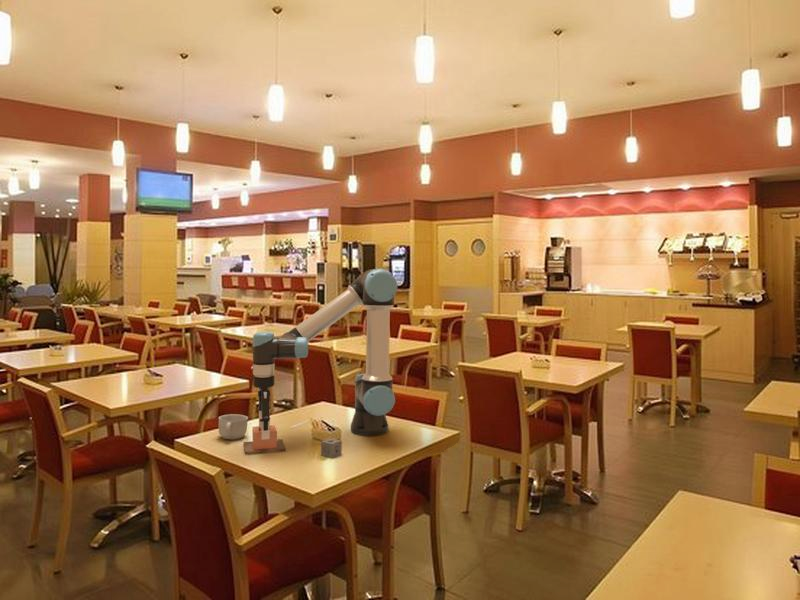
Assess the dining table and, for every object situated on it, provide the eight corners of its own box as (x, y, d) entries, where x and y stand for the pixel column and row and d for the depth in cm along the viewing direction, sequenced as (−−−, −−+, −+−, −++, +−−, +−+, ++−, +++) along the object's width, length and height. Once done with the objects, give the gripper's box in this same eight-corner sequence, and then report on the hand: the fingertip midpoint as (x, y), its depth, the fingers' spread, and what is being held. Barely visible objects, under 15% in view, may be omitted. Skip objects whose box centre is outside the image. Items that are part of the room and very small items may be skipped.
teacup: (226, 432, 229) (225, 412, 229) (252, 434, 228) (252, 413, 227) (209, 443, 215) (209, 422, 215) (237, 445, 214) (237, 423, 213)
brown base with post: (282, 441, 218) (282, 415, 218) (285, 451, 207) (285, 423, 206) (243, 444, 214) (243, 417, 213) (244, 454, 203) (244, 426, 202)
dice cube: (321, 455, 203) (321, 441, 202) (330, 451, 207) (330, 438, 207) (331, 458, 200) (332, 444, 200) (341, 454, 204) (341, 440, 204)
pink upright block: (274, 441, 215) (274, 425, 215) (276, 447, 208) (276, 431, 207) (252, 442, 213) (252, 426, 213) (253, 449, 205) (253, 432, 205)
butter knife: (286, 427, 237) (292, 427, 236) (322, 412, 262) (327, 412, 261) (286, 428, 237) (293, 428, 236) (322, 414, 262) (327, 414, 261)
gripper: (251, 369, 220) (251, 425, 221) (255, 382, 196) (255, 444, 197) (271, 368, 222) (271, 423, 223) (277, 381, 198) (278, 442, 199)
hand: (264, 433), depth 210 cm, fingers open, 13 cm apart
